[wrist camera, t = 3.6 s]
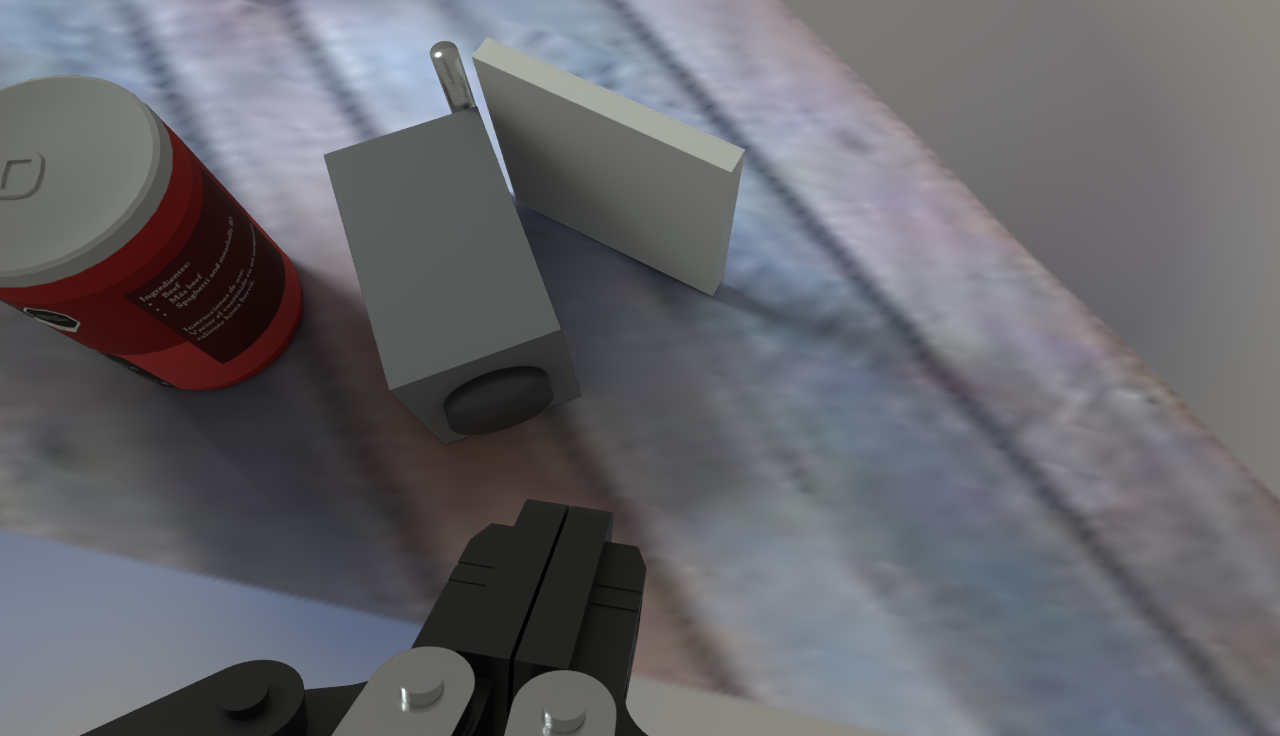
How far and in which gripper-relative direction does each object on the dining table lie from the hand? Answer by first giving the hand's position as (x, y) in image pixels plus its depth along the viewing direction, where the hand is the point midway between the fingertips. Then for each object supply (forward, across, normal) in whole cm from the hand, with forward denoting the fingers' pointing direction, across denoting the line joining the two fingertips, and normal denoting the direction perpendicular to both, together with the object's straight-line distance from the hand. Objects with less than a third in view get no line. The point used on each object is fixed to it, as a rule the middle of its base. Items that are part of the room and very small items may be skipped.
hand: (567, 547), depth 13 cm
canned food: (+19, +20, +6) cm, 28 cm away
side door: (+23, +2, +1) cm, 23 cm away
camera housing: (+20, +8, +4) cm, 22 cm away
